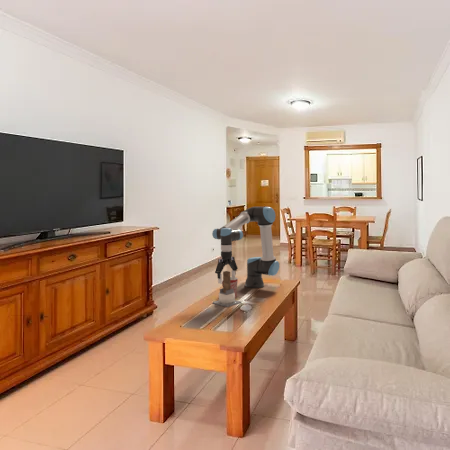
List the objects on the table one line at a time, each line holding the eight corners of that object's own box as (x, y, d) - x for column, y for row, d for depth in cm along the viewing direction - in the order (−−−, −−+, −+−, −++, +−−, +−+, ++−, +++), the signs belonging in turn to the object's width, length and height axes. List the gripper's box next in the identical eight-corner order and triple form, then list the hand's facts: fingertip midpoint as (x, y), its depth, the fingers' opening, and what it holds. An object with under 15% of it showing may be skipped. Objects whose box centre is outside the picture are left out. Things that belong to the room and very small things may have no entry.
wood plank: (226, 292, 292) (226, 270, 291) (230, 293, 289) (230, 271, 288) (223, 293, 290) (223, 271, 288) (227, 294, 287) (227, 272, 286)
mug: (240, 296, 308) (240, 277, 307) (233, 298, 301) (233, 280, 300) (226, 293, 316) (226, 275, 315) (219, 296, 309) (219, 278, 307)
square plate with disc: (226, 299, 300) (226, 285, 299) (241, 302, 290) (241, 288, 289) (212, 303, 290) (212, 289, 289) (227, 306, 280) (227, 292, 279)
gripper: (234, 248, 299) (234, 277, 300) (209, 252, 280) (210, 283, 282) (242, 249, 293) (242, 279, 295) (217, 253, 275) (218, 285, 277)
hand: (226, 281), depth 289 cm, fingers open, 13 cm apart
